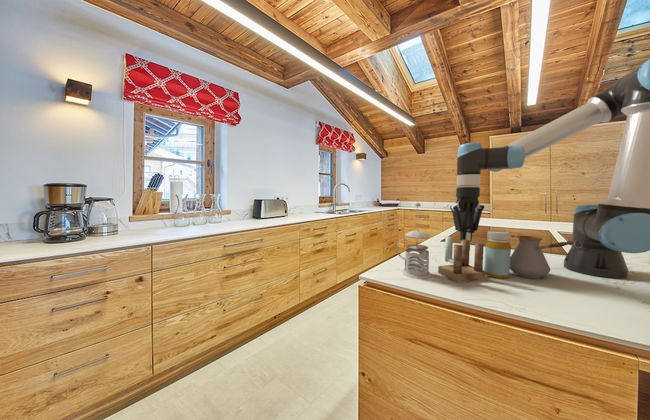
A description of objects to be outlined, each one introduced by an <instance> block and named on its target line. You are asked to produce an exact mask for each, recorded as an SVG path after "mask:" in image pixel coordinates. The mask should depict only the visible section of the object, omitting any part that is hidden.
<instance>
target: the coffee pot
mask: <svg viewBox="0 0 650 420" xmlns="http://www.w3.org/2000/svg"><path fill="white" fill-rule="evenodd" d="M516 238H518V241H519V242H518V243H517V246H516V247H515V249H514V250H513V252H512V253H511V255H510V271H511V272H512V273H513V274H514V275H516V276H519V277H522V278H527V279H528V278H529V279H541V278H543V277H545V276H547V275H549V273H550V271H552V270H551V267H550V265H549V263H548V261H547V258H546V256H545V254H544V252H543V251H542V250H543V249H549V248H550V249H551V248H561V247H565V246H572V244H574V246H575V244H576V243H578V242H579V241H576V240H575V241H572V240H567V241H561V242H557V243H556V242H555V243H551V244H548V245H542V246H541V245H540V243H541V241H542V240H543V238H542V237H539V236H534V235H518V236H517V237H516ZM579 243H581V242H579ZM575 247H576V246H575ZM581 247H582V243H581ZM581 247H577V248H581Z"/></svg>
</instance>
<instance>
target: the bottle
mask: <svg viewBox="0 0 650 420" xmlns="http://www.w3.org/2000/svg"><path fill="white" fill-rule="evenodd" d="M486 234H487V235H486V237H487V239H486V243H485V245H484V263H483V267H484V268H483V271H485V272H486V276H488V277H490V278H495V279H507V278H509V277H510V271H511V270H510V257H511V255H512V252H511V251H512V250H511V249H512V246H511V243H510V241H511V240H510V239H511V233H510V231H507V230H506V231H505V230H496V229H491V230H490V229H489V230H487V233H486Z"/></svg>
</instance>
